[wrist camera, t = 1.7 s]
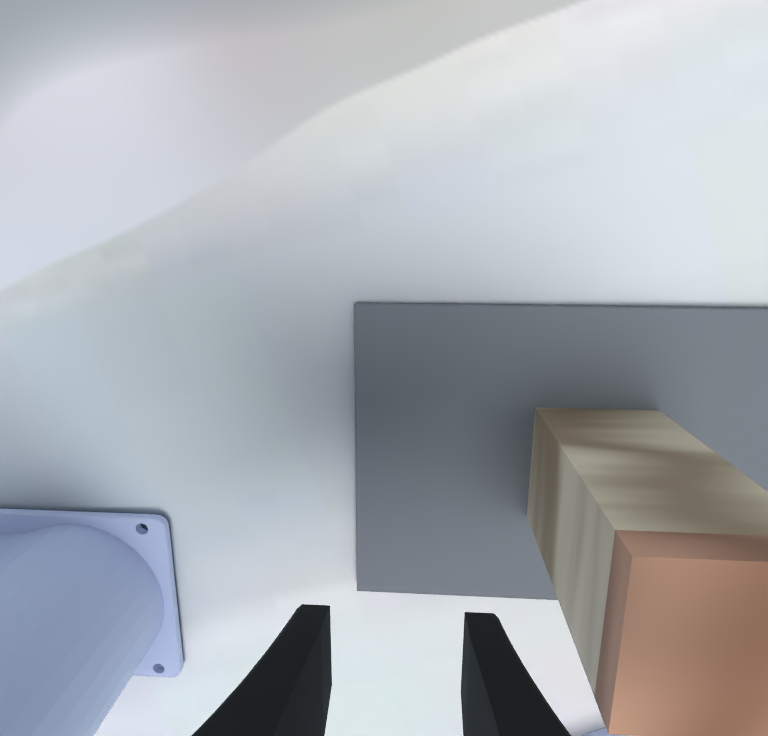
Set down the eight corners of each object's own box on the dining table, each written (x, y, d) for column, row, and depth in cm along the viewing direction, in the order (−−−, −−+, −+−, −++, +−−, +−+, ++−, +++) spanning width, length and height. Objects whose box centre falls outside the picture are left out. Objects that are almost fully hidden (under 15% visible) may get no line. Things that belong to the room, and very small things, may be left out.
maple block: (526, 516, 21) (608, 734, 12) (535, 407, 20) (632, 556, 11) (644, 520, 21) (819, 746, 12) (659, 410, 20) (865, 565, 11)
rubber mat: (358, 581, 23) (357, 590, 23) (356, 302, 20) (354, 304, 20) (900, 605, 22) (913, 616, 21) (982, 310, 19) (1000, 313, 18)
